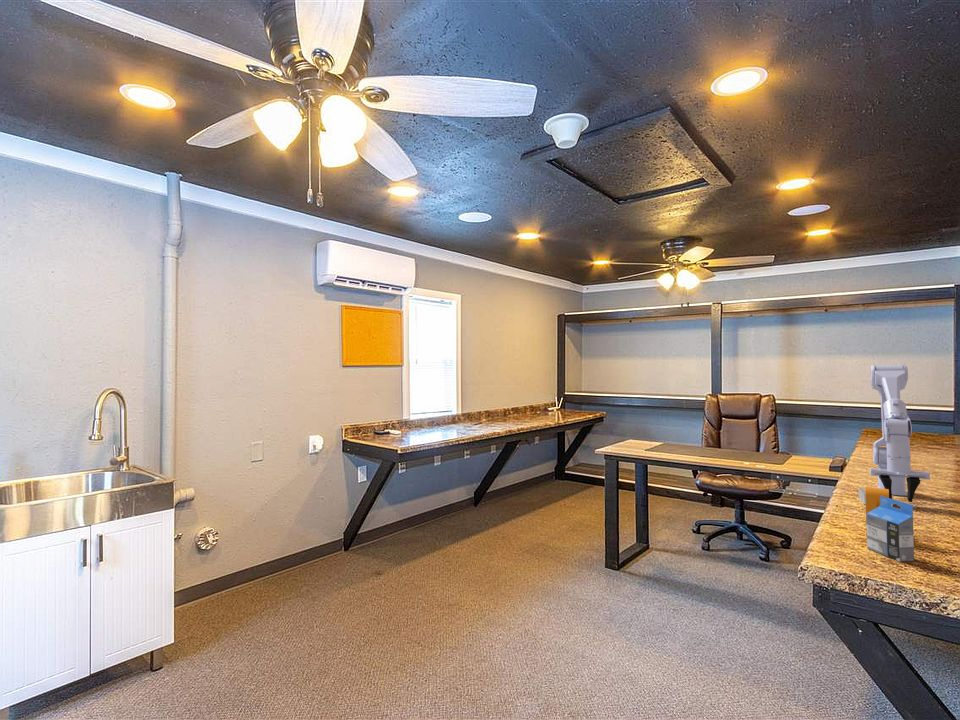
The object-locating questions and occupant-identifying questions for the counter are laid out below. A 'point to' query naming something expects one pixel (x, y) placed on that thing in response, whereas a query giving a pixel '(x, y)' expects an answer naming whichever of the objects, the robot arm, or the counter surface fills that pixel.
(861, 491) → the chute mount
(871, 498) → the bracket
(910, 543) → the ink cartridge box
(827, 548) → the counter surface
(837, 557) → the counter surface
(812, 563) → the counter surface
